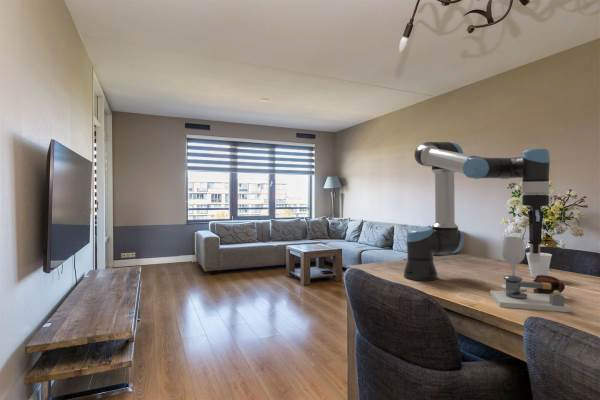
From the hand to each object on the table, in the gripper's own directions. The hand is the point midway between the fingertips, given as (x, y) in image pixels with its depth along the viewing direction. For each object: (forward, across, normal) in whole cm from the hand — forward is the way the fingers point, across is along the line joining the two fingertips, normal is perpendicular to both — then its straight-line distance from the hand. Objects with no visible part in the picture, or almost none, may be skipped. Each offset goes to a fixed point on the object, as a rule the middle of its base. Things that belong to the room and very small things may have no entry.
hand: (534, 262), depth 113 cm
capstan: (+13, +3, +2) cm, 14 cm away
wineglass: (+16, +22, +4) cm, 28 cm away
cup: (+16, +48, -7) cm, 51 cm away
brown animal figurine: (+16, +18, -7) cm, 24 cm away
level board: (+15, +2, +2) cm, 16 cm away
